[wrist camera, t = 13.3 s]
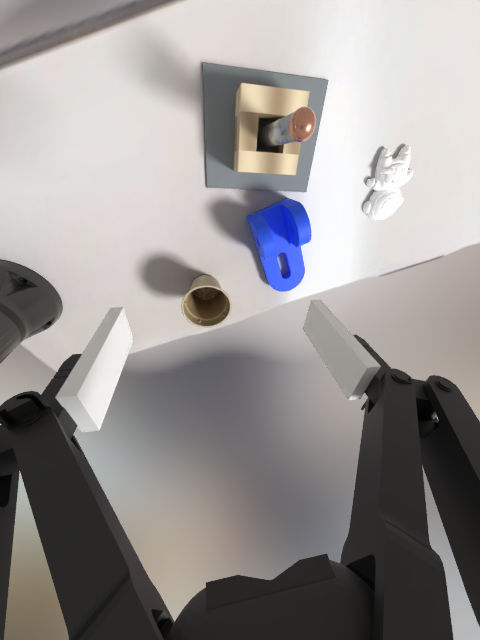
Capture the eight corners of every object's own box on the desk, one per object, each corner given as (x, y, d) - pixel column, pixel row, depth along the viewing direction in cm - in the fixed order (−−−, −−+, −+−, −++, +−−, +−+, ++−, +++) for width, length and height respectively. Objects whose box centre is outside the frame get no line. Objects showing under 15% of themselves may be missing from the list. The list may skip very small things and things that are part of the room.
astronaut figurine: (418, 145, 38) (433, 143, 36) (392, 218, 45) (404, 221, 43) (373, 147, 37) (386, 146, 35) (354, 221, 44) (363, 224, 42)
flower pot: (196, 258, 43) (196, 276, 36) (234, 280, 47) (240, 299, 41) (176, 294, 47) (172, 316, 40) (213, 311, 51) (215, 333, 44)
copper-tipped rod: (254, 147, 34) (291, 140, 20) (255, 126, 33) (297, 102, 19) (269, 149, 34) (316, 142, 21) (271, 127, 33) (324, 105, 19)
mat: (206, 187, 36) (207, 187, 36) (202, 63, 28) (202, 62, 28) (305, 191, 39) (306, 191, 39) (327, 80, 31) (328, 79, 31)
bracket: (246, 216, 40) (256, 227, 33) (287, 197, 40) (307, 205, 32) (271, 292, 51) (282, 313, 44) (303, 279, 50) (321, 298, 43)
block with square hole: (233, 170, 35) (238, 171, 31) (235, 93, 30) (241, 82, 26) (285, 174, 37) (295, 175, 33) (295, 100, 32) (309, 91, 28)
